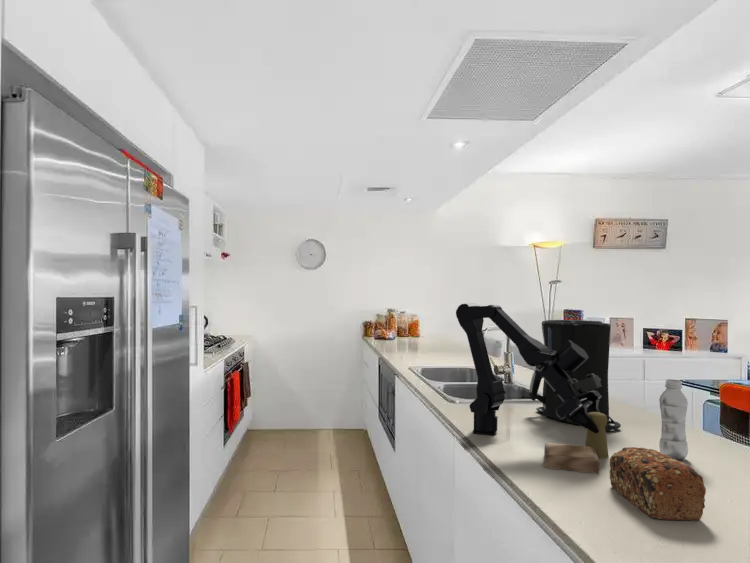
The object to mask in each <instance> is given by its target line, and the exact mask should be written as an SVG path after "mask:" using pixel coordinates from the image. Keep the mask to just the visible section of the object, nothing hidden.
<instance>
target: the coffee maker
mask: <svg viewBox="0 0 750 563" xmlns="http://www.w3.org/2000/svg"><path fill="white" fill-rule="evenodd" d="M611 327H612V326H611V323H606V322H603V321H601V320H585V319H583V320H582V319H581V320H580V319H546V320H542V322H541V332H542V338H543V344H544V345H545V346H547V347H548V348H549V349H550V350H552V351H558V350H560V349H561V348H562V347H563V346H564V344H565V343H566V342H567V341H572V342H573V343H574V344H576V345H578V346H579V347H580V348H583V349H584V351H585V352H586V353H587V355H588V359H587V360H586V361H585V362H584V363H583V364H581V365H580V366H579V367H578V368H577V369H576V370H575V371H574V372H570V371H568V372H566V371H565V372H566V373H567V374H568V375H569V377H570V378H571V379H577V380H578V381H581V380H584V379H586V375H589V374H592V373H594V374H595V375H596V376H597V375H598V377H599V378H601V381H600V383H601V385H602V387H600V388H596V389H593V390H594V391H598V392H599V393H600V395H601V396H602V397H601V398H600V399H599V403H598V409H599V411H600V413H603V414H605V415H606V417H607V424H606V426H607V428H606V429H605V432H606V433H607V432H610V431H614V430H617V429H620V428H621V423H620V422H618V421H615V420H614V419H613V418H612V417H611V416H610V405H609V403H610V402H609V400H610V399H609V366H610V364H609V362H610V361H609V360H610V344H611V342H610V340H611ZM554 361H555V360H552V361H549V362H548V363H547V364H550V365H551V364H552V363H553V362H554ZM545 365H546V364H545ZM545 365H541V366H535V368H534V371H533V372H532V374H531V375H532V376H531V380H530V384H529V389H528V390H529V391H528V396H529V399H530V400H531V401H534V402H536V400H537V401H539V402H541V403H542V406H539V407H535V409H536V411H537V412H539V413H541V414H543V415H545V417H546V418H551V419H555V420H557V421H561V422H566V423H569V424H575V425H578V426H580V425H579V424H577V423H575V422H573V421H571V420H567V418H568V417H569V416H570V414H569V413H568V414H567V415H566V417H565V418H563V419H560V418H559V417H558V416H557V414H556V408H557V407H558V406H560V405H561V404H562V403H563V401H562V400H561V398H560V397H559V396H558V395H557V396H555V395H554V394H553V392H555V391H554V390H553V389H552V388H551V387H550V385H549V384H548V383H547V382H546V381H545V379H544V378H543V385H542V395H539V394H538V392H539V388H540V386H541V381H542V379H539V380H535V370H541V369H542V368H543V367H544V366H545ZM589 391H592V390H588V392H589Z"/></svg>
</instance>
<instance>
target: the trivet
mask: <svg viewBox="0 0 750 563" xmlns="http://www.w3.org/2000/svg"><path fill="white" fill-rule="evenodd" d="M543 454H544V466H545V469H556V470H565V471H572V472H573V471H574V472H583V473H594V474H599V473H600V460H599V459H600V458H598V456H597V454H596V451H595V449H594V447H589V446H585V445H577V444H568V443H567V444H566V443H555V442H544V452H543Z"/></svg>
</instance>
